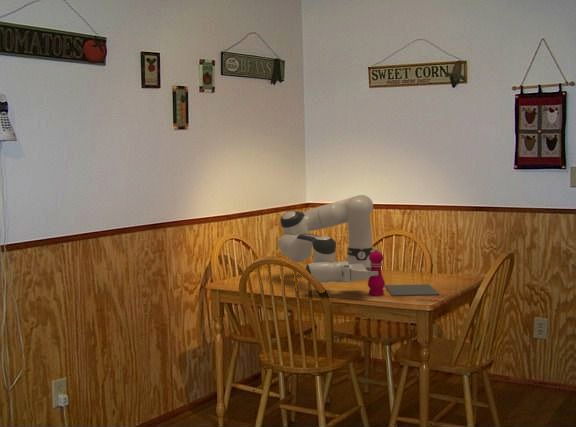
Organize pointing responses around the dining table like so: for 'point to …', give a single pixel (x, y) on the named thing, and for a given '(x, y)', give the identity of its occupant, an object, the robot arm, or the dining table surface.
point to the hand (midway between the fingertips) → (376, 271)
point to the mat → (411, 290)
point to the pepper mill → (377, 281)
